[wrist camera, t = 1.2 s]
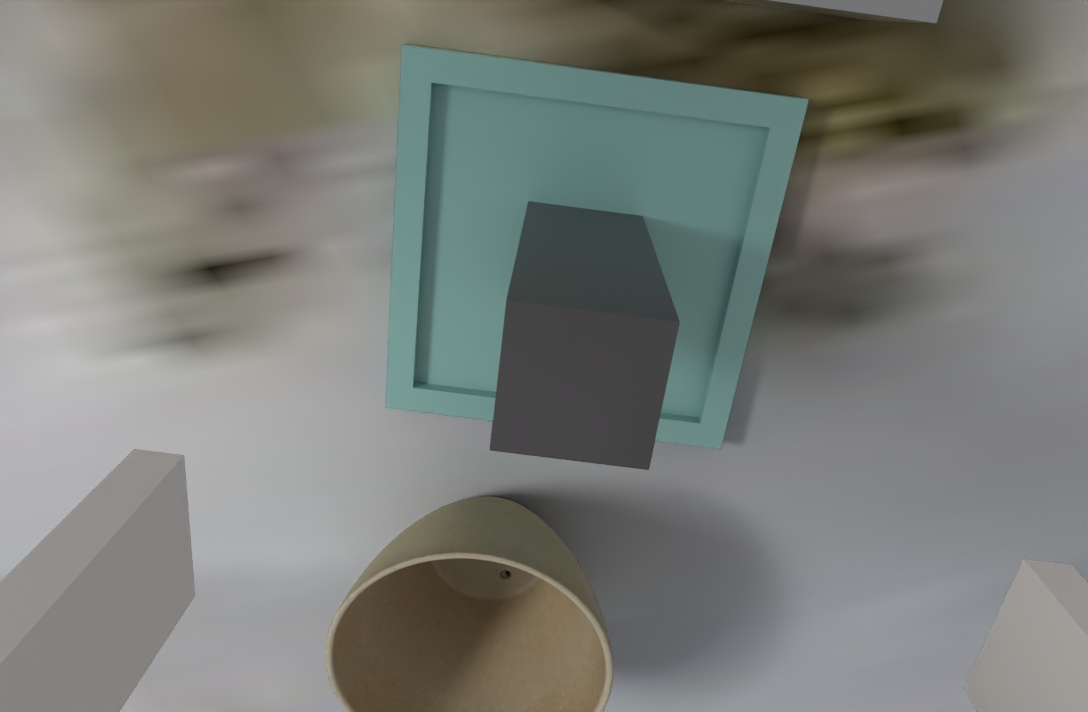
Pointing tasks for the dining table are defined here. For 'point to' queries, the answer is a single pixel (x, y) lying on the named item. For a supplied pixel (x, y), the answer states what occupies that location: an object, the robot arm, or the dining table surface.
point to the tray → (585, 182)
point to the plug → (584, 340)
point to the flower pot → (472, 620)
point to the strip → (861, 8)
